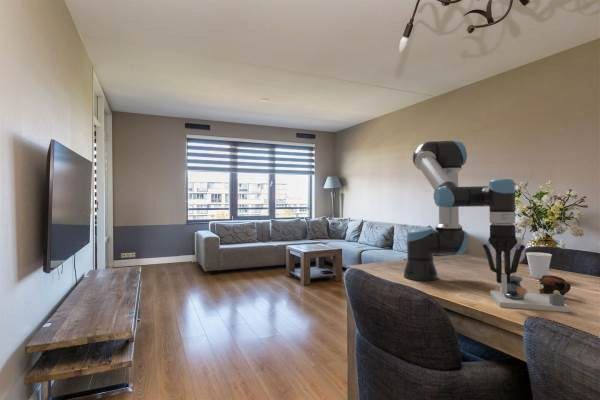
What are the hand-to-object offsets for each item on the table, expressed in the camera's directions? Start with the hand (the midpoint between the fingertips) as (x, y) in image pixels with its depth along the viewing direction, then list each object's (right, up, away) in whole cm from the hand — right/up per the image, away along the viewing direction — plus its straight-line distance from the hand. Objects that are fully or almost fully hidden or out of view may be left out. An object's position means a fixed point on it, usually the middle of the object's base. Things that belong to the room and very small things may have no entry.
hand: (503, 292), depth 113 cm
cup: (+41, -4, +39) cm, 57 cm away
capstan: (+6, -3, +3) cm, 7 cm away
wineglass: (+18, -5, +23) cm, 30 cm away
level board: (+11, -5, +4) cm, 13 cm away
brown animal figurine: (+28, -5, +13) cm, 31 cm away
